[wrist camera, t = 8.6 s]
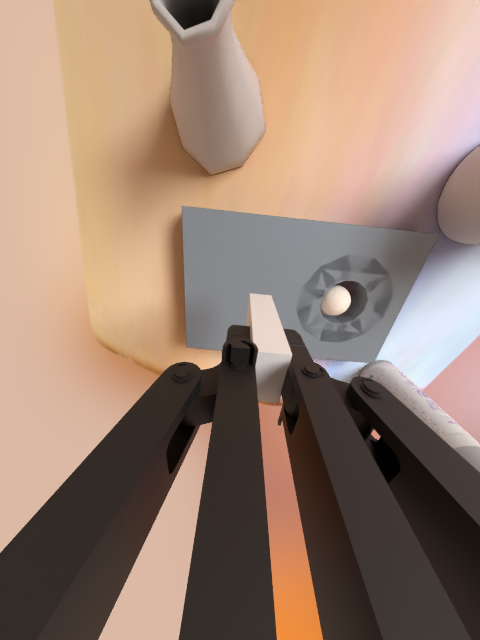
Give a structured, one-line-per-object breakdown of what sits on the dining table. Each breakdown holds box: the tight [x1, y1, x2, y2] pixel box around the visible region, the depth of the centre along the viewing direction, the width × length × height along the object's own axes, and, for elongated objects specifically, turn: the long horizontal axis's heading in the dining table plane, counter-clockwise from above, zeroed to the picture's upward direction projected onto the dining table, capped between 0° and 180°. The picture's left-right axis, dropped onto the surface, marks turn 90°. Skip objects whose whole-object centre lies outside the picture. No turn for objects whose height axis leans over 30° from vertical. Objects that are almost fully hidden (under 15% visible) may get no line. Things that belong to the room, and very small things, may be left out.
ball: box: [320, 285, 351, 315], centre depth 20 cm, size 3×3×3 cm
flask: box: [150, 0, 266, 175], centre depth 11 cm, size 7×7×10 cm
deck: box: [182, 206, 439, 363], centre depth 20 cm, size 14×22×2 cm, turn 84°
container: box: [359, 360, 480, 472], centre depth 20 cm, size 5×5×15 cm
